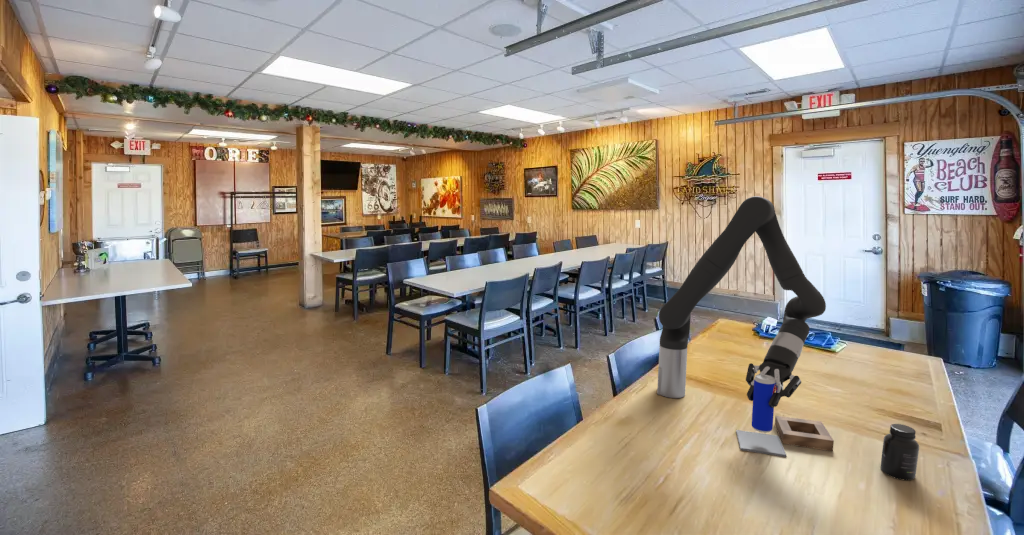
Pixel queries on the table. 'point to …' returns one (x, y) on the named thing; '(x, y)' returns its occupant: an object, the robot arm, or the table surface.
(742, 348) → the table surface
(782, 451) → the slate coaster
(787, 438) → the walnut holder
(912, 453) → the supplement bottle
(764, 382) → the beverage can
